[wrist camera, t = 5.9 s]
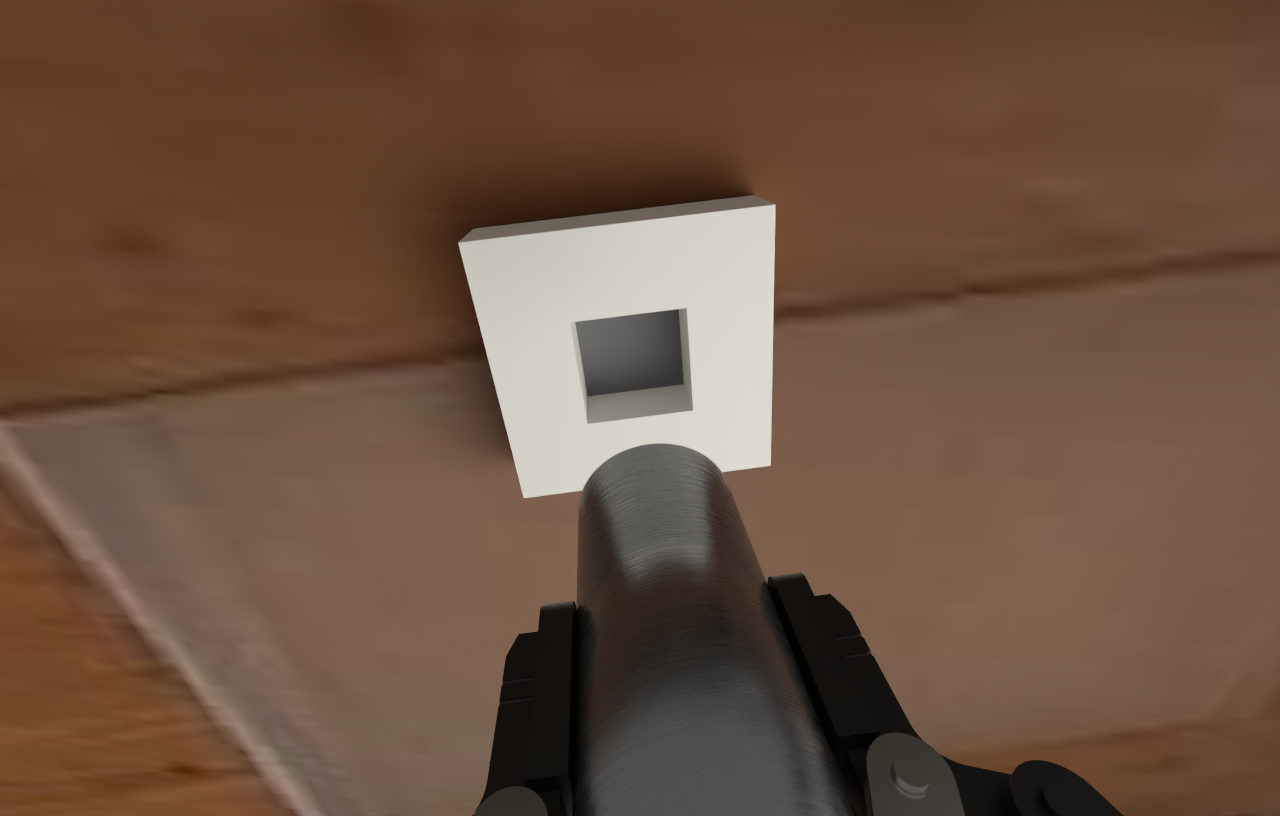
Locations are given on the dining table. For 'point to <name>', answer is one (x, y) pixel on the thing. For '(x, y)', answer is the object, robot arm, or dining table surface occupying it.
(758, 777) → the graphite peg
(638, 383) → the socket block
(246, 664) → the dining table surface
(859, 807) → the robot arm
